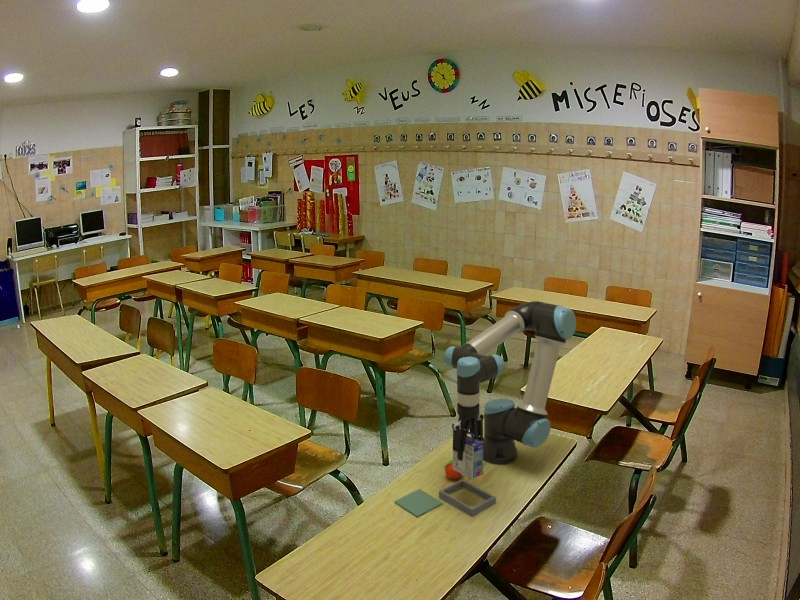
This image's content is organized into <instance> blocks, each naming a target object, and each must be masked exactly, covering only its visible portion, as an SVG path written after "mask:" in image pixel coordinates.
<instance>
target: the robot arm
mask: <svg viewBox="0 0 800 600" xmlns="http://www.w3.org/2000/svg"><path fill="white" fill-rule="evenodd" d="M576 317H577V316H576V315H575V313H574V311H573V310H572V309H571V308H570V307H566V306H563V305H559V304H553V303H548V302H547V303H546V302H543V301H538V300H535V301H527V302H525V303H522V304H519V305H517V306H515V307H513V308H511V309H510V310H508V311H507V312H506V313H505V314H504V317H503V318H501V319H499V320H498V321H497V322H495V323H494V324H492V325H491V326H489V327H488V328H486V329H484V330H483V331H482V332H480V333H478V334H477V335H476V336H474V337H473V338H471V339H469V340H468V341H467V342H465V343H464V344H462V345H461V346H460V347H458V346H454V345H452V346H450V347H448V348H447V349H446V350H445V352H444V356H443V358H444V363H445V365H446V366H448V367H451V368H452V369H456V386H457V387H456V394H457V395H456V398H457V399H456V402H457V403H456V405H457V406H456V413H457V415H458V419H457V422H455V423H452V424H451V428H452V451H453V450H454V451H456V452H457V459H458V467H460V468H462V469H466V452H465V451H464V447H465V442H466V437H467V436H468V434H467V433H469V432H471V433H473V434H475V435H474V439H476V440H479V441H481V442H483V461H485V462H487V463H490V464H492V465H493V464H495V465H507V464H511V463H513V462H515V461H516V460H517V458H518V449H517V447H516V443H515V441H516V442H518V443H520V444H522V445H524V446H527V447H530V448H538V447H540V446H542V445H543V444H544V443H545V442H546V440H547V439H548V437H549V435H550V432H551V429H552V428H551V422H550V420H548V412H547V410H546V404H547V401H548V396H549V392H550V389H551V385H552V380H553V378H554V377H553V376H554V373H555V368H556V365H557V360H558V357H559V353H560V350H561V349H560V348H561V347H562V346H564V345H566V342H567V340H570V339H572V338H573V336H574V335H575V333H576V331H577V330H576V329H577V318H576ZM525 331H533V332H535V334H534V337H535V340H537V342H536V345H535V351H534V355H533V359H532V362H531V366H530V369H529V374H528V378H527V383H526V385H525V386H526V387H525V390H524V394H523V398H522V402H520V403H519V404H517V405H516V404H515V402H514V401H513V400H511V399H509V398H496V399H491V400H489V401H488V402H486V403H485V405H484V412H483V414H481V413H480V401H481V399H480V397H481V396H480V395H481V394H480V386H481V385H480V384H482V383H484V382H486V381H488V380H491V379H495V378H497V377H498V376H500V375H502V374H503V373H504V371H505V365H506V364H505V361H504V359H503V358H502V357H501V356H500V355H499V354H489V353H490V352H491V351H493V350H494V349H496V348H497V347H498V346H500V345H501V344H503V343H504V342H505V341H507V340H508V339H510V338H511V337H513V336H515V334H522V333H523V332H525ZM486 354H489V355H486ZM515 406H516V407H515ZM470 437H471V438H472V435H470Z"/></svg>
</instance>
